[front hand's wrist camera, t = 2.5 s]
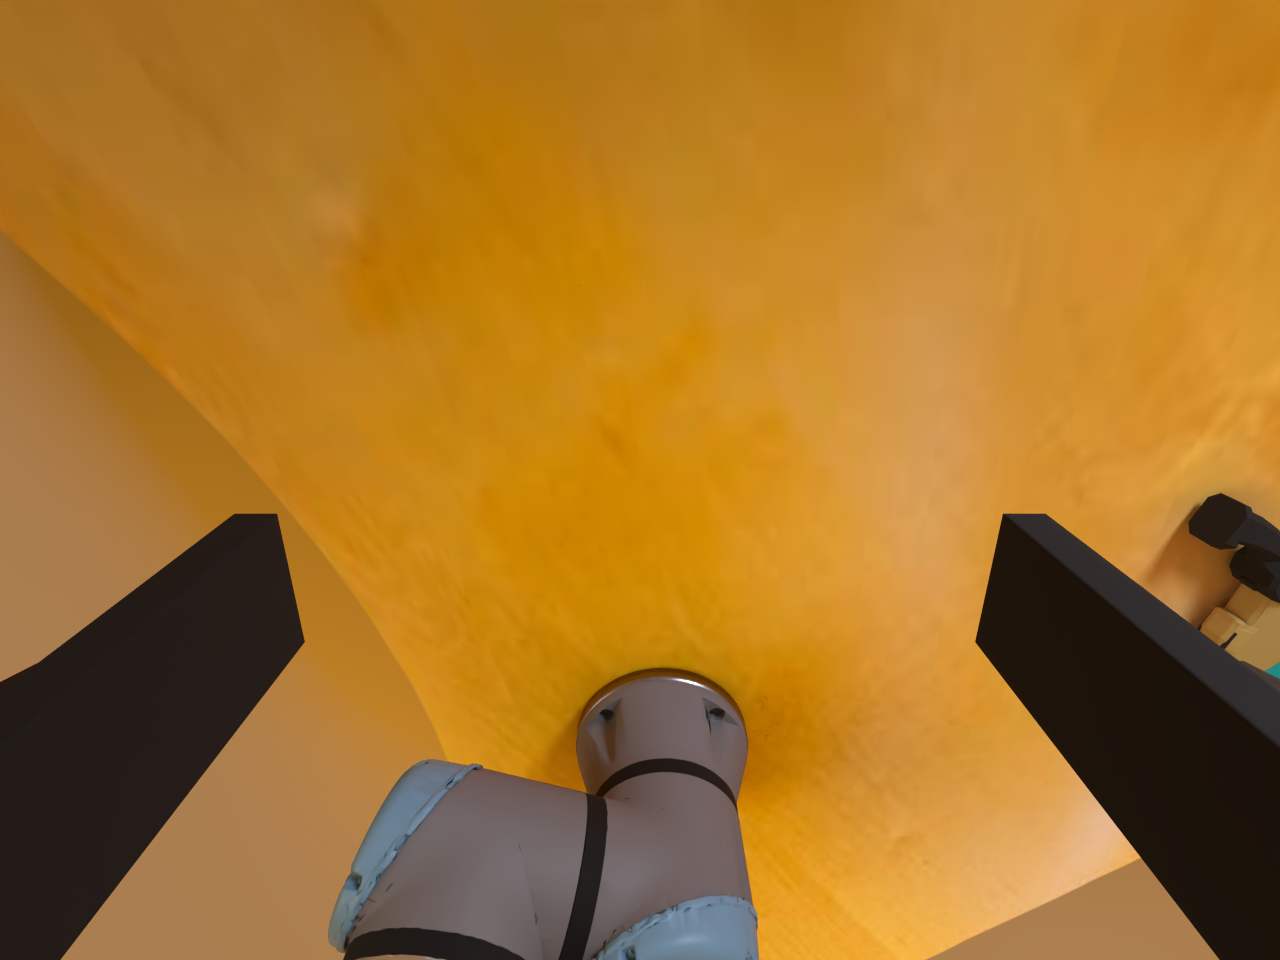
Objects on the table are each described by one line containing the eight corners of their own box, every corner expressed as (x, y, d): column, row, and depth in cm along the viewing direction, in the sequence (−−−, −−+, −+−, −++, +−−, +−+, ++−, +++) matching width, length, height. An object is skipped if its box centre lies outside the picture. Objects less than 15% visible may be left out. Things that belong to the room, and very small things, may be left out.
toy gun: (1077, 731, 56) (1224, 784, 58) (1302, 458, 47) (1464, 532, 49) (1047, 695, 60) (1185, 745, 62) (1248, 437, 51) (1400, 506, 54)
